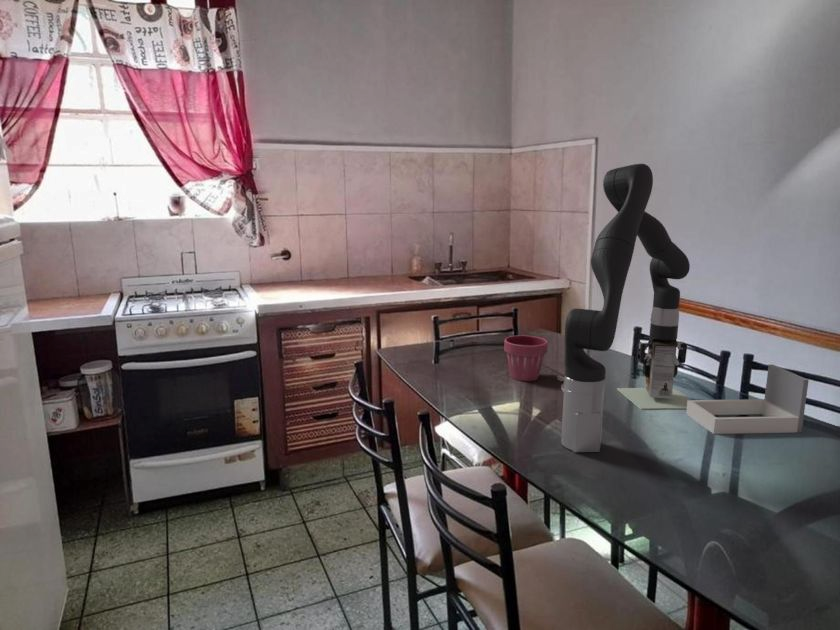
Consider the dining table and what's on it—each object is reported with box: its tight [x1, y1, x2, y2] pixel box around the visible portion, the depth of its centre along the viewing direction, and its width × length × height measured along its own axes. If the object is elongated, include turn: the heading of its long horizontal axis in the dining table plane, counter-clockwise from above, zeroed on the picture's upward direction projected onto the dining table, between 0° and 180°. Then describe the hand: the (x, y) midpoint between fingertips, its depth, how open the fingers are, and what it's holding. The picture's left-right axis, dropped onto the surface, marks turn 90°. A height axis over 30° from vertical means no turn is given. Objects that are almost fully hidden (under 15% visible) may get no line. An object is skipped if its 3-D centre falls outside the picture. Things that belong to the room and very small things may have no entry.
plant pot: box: [503, 334, 549, 382], centre depth 195 cm, size 14×14×13 cm
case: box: [685, 364, 810, 435], centre depth 156 cm, size 14×23×14 cm, turn 93°
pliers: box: [556, 374, 565, 393], centre depth 188 cm, size 10×2×15 cm
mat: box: [616, 387, 692, 411], centre depth 176 cm, size 18×18×1 cm
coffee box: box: [644, 337, 678, 398], centre depth 174 cm, size 9×6×16 cm
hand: (659, 376), depth 175 cm, fingers closed on coffee box, 7 cm apart
